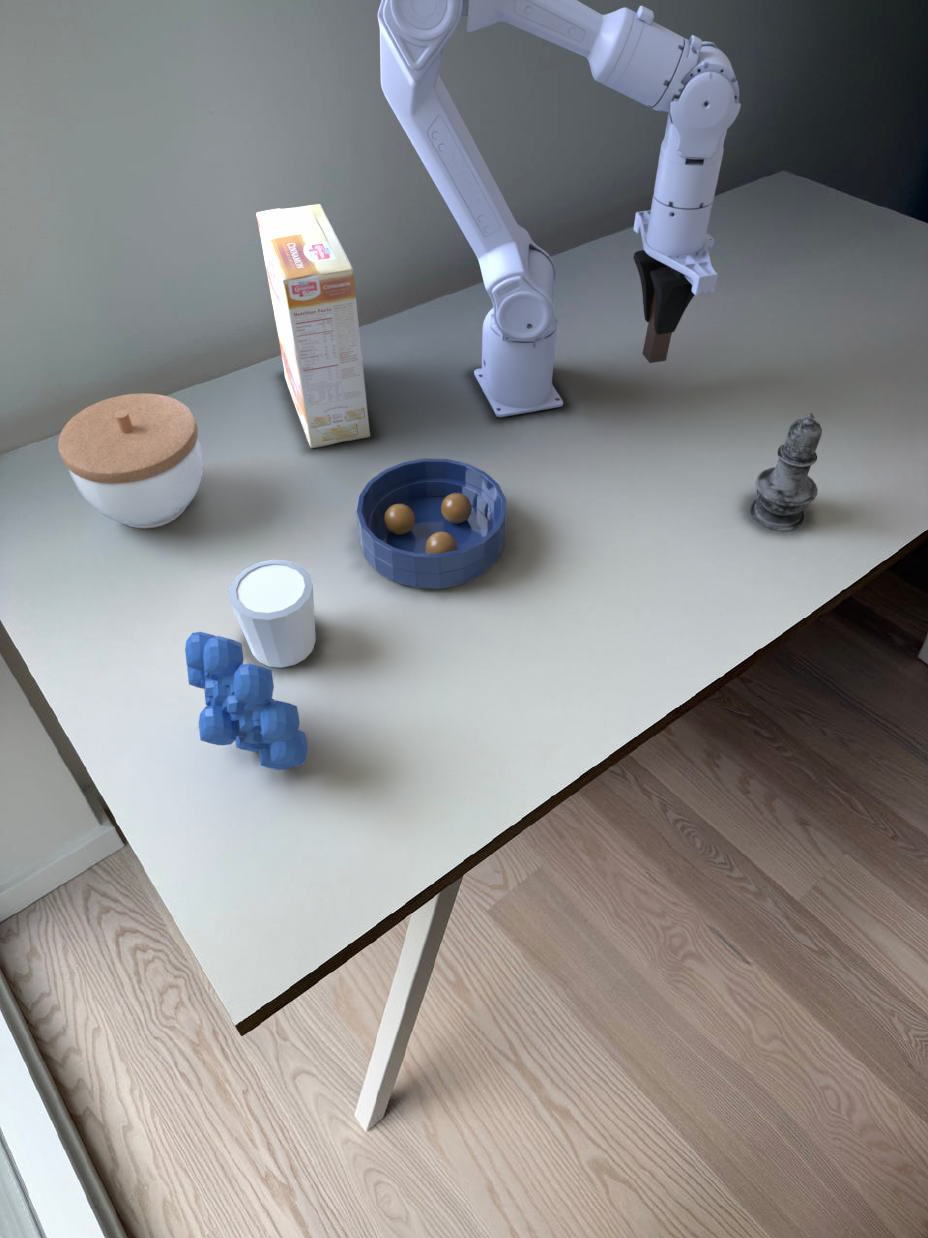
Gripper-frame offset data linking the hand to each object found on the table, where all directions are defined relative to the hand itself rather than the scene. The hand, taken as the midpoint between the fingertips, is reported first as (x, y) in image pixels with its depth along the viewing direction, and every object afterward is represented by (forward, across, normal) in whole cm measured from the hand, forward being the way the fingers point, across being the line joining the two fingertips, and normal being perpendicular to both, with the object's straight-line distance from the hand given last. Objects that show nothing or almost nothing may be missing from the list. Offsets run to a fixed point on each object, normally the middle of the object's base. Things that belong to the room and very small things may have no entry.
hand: (659, 325), depth 96 cm
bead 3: (+7, -19, +30) cm, 36 cm away
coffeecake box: (+10, +10, +36) cm, 38 cm away
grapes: (+10, -35, +50) cm, 62 cm away
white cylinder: (+10, -24, +46) cm, 53 cm away
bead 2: (+7, -14, +27) cm, 31 cm away
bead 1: (+7, -14, +33) cm, 36 cm away
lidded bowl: (+10, -2, +56) cm, 57 cm away
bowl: (+9, -16, +30) cm, 35 cm away
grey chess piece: (+10, -22, -4) cm, 24 cm away
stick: (+4, 0, 0) cm, 4 cm away
